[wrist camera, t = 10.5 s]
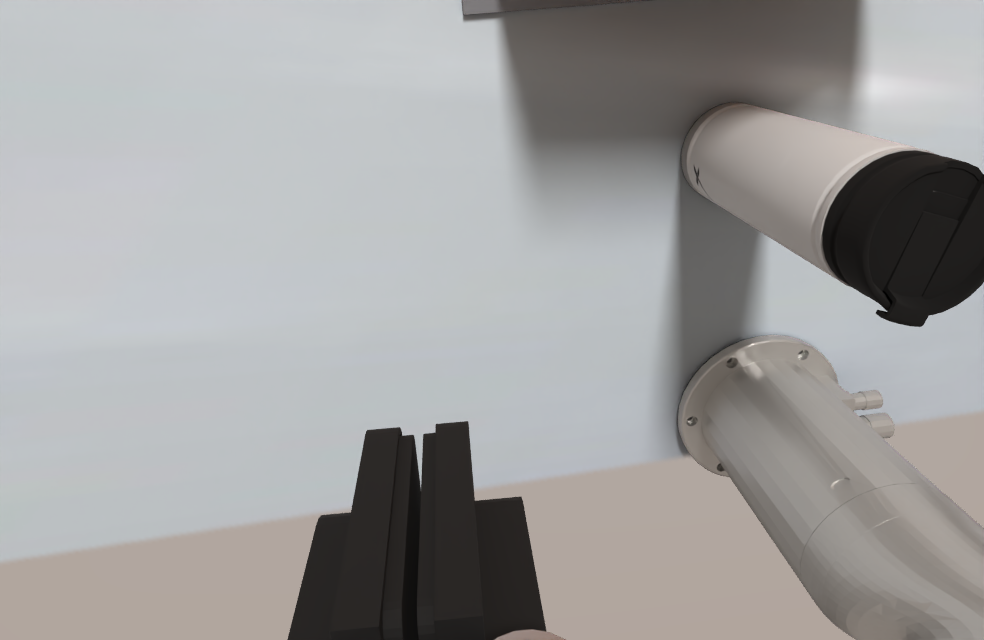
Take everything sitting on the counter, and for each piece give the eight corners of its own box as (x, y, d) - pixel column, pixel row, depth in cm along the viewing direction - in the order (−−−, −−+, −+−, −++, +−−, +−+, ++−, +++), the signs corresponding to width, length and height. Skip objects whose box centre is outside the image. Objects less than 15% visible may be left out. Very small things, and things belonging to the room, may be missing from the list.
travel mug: (663, 190, 44) (836, 311, 26) (701, 90, 41) (921, 146, 23) (746, 212, 45) (965, 342, 27) (787, 116, 43) (1060, 187, 25)
